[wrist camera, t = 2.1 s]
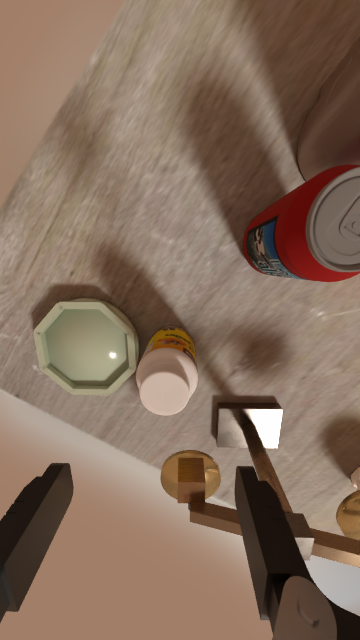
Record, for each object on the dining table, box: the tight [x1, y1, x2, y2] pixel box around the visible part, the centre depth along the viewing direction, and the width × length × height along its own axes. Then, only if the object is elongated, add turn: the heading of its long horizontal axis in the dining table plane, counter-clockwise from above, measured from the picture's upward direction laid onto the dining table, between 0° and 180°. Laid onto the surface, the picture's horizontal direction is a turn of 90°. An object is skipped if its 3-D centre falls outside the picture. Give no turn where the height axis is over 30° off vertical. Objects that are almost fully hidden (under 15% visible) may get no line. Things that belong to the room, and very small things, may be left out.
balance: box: [161, 403, 360, 568], centre depth 22 cm, size 22×6×15 cm, turn 90°
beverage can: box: [243, 165, 360, 282], centre depth 17 cm, size 7×7×12 cm
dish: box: [33, 298, 140, 395], centre depth 26 cm, size 12×12×2 cm
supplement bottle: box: [136, 326, 198, 415], centre depth 21 cm, size 6×6×10 cm
